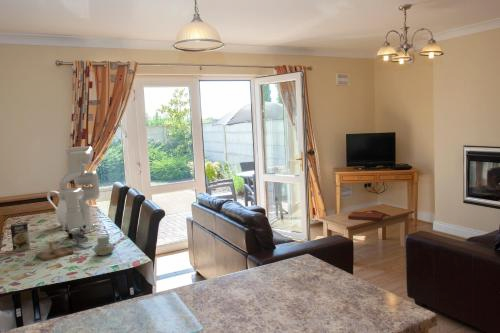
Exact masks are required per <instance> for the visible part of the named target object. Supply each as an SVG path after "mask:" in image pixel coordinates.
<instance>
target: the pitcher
mask: <svg viewBox="0 0 500 333" xmlns="http://www.w3.org/2000/svg"><path fill="white" fill-rule="evenodd" d="M51 194H55V195H57V196H58V198H59V201H58V203H57V204H58V205H57V206H56V205H55V204H54V202H52V200H51ZM46 199H47V202H49V203H50V205H51V206H52V207H53V208H54V210H55V215H56V220H57V222H58V223H59V225H60V226H61V228H62V227H63V226H64V225H65V213H67V210H66V202H65V201H64V200H61V199H60V197H59V191H57V190H50V191H48V192H47V195H46Z"/></svg>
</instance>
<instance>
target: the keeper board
mask: <svg viewBox="0 0 500 333" xmlns="http://www.w3.org/2000/svg"><path fill="white" fill-rule="evenodd" d="M48 248H49V250H45V251H41V252H37V253H35V257H36V258H38V259H40V261H42V262H47V261H49V260H54V259H58V258H62V257H66V256H69V255H73V254H74V250H72V249H70V248H68V247H66V246H60V247H57V248H54V245H53V241H48Z"/></svg>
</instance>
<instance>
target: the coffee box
mask: <svg viewBox="0 0 500 333" xmlns="http://www.w3.org/2000/svg"><path fill="white" fill-rule="evenodd" d="M10 233H11V242H12V251H13V252H20V251H24V250H25V251H26V250H30V249H31V243H30V234H29V223H28V222H20V223H12V224H10Z"/></svg>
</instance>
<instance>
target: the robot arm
mask: <svg viewBox="0 0 500 333" xmlns="http://www.w3.org/2000/svg"><path fill="white" fill-rule="evenodd" d="M65 154H66V156H67V160H66V163H67V167H66V170H67V171H66V174H65V175H64V176H63V177H62V178H61V179H60V182H59V187H58V192H59V197H58V198H59V200H60V199H61V200H64V201H65V202H66V210H67V213H65V225H64V226H63V227H62V226H61V230H62V231H64V232H66V233H67V236H68V239H71V240H72V235H71V231H72V229H73V230H74V229H77V230H78V229H79V230H81V231H83V235H84V236H85V234H88V233H92V232H94V231H95V230H96V229H95V227H100V223H93V221H92V211H91V206H90V205H91V204H89V203H88V202H87V201H93V200H94V201H95V200H98V199H99V198H100V196H101V195H100V183H99V182H100V180H99V175H98V172H96V171H94V170H89V171H88V170H87V164H90V163H91V162H92V161H93V158H94V149H93V147H92V146H90V145H87V146H85V145H84V146H74V147H73V146H72V147H68V148H66V151H65ZM71 181H73V182H74V185H76V186H82V187H70V188H65V187H66V185H68V184H69V183H70V182H71ZM88 185H89V186H88ZM90 185H91V186H90ZM71 240H70V241H71Z"/></svg>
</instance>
